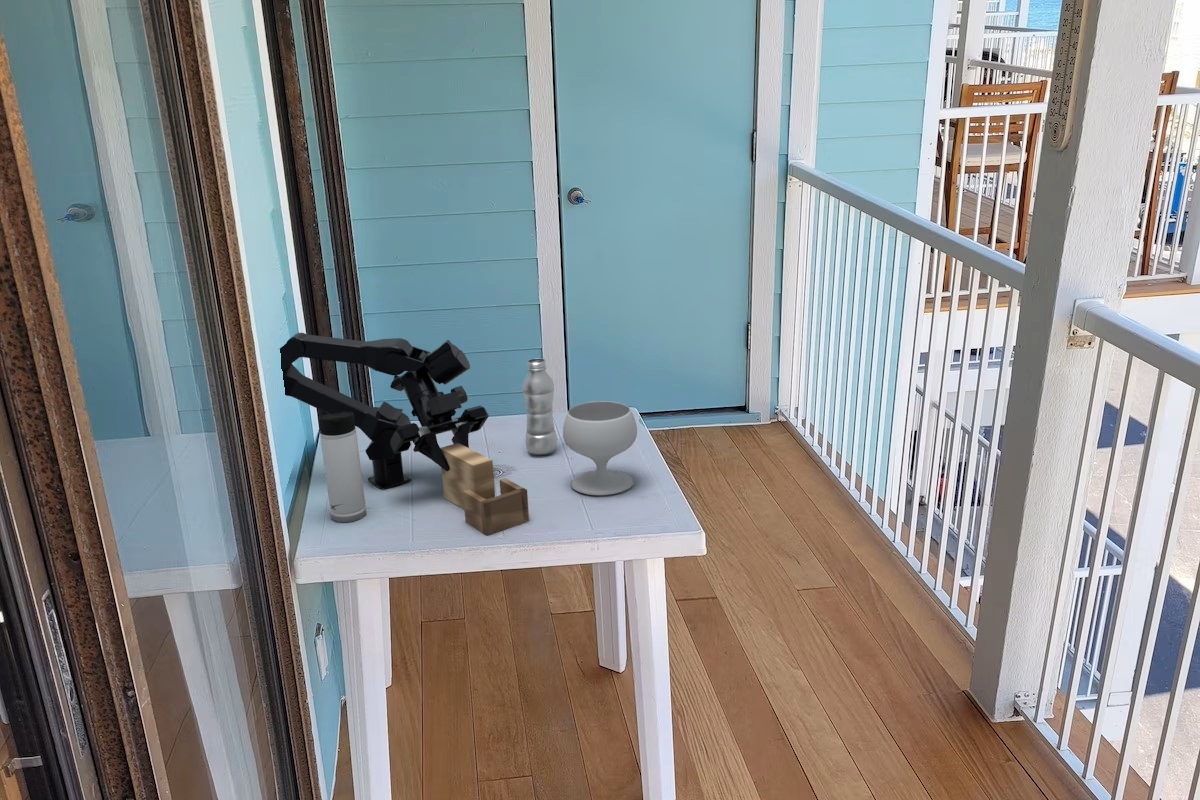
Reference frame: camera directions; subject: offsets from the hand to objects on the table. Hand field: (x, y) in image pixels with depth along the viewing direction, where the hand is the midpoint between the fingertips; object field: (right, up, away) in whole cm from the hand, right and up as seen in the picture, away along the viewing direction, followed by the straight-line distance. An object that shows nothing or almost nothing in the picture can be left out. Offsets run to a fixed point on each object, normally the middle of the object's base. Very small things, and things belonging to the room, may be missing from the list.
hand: (458, 467), depth 186 cm
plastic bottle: (+14, +1, +24) cm, 28 cm away
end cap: (+8, -9, -8) cm, 14 cm away
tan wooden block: (+2, -7, 0) cm, 7 cm away
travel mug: (-20, -9, -3) cm, 22 cm away
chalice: (+27, -4, +6) cm, 28 cm away
